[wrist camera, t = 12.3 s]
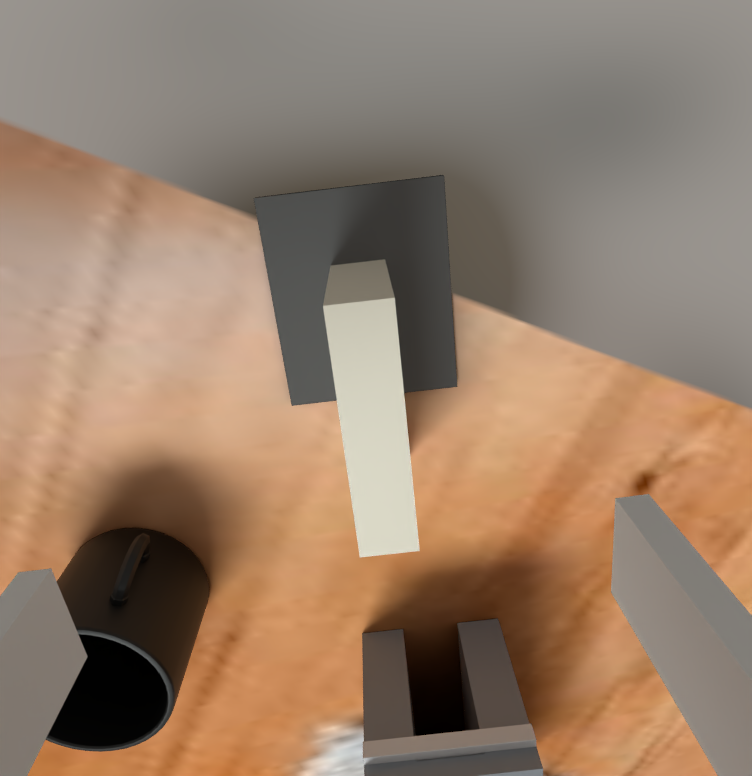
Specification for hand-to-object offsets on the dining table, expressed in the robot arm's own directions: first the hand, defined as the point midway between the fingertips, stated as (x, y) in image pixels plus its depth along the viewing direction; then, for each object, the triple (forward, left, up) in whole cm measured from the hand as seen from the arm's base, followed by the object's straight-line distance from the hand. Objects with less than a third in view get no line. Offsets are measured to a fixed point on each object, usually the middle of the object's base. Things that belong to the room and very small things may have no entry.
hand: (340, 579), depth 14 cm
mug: (-16, -16, -22) cm, 32 cm away
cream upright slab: (+1, -3, -21) cm, 22 cm away
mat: (+1, +1, -22) cm, 22 cm away
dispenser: (+3, -32, -22) cm, 39 cm away
